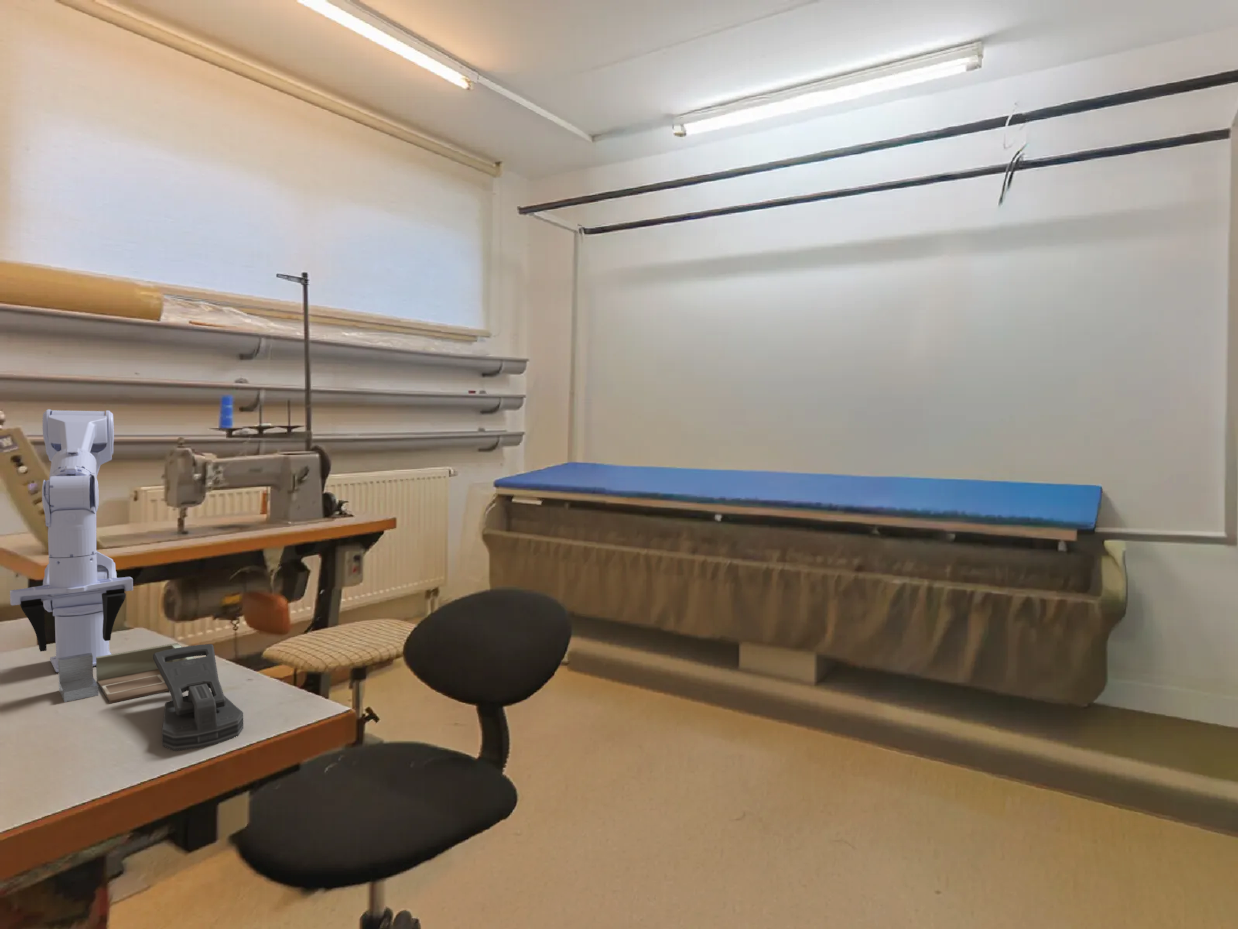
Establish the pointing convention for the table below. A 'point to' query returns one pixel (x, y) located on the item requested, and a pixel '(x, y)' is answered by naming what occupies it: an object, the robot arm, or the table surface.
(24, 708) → the table surface
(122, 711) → the table surface
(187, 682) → the zipper pull
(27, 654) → the table surface
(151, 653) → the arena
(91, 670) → the angle bracket
